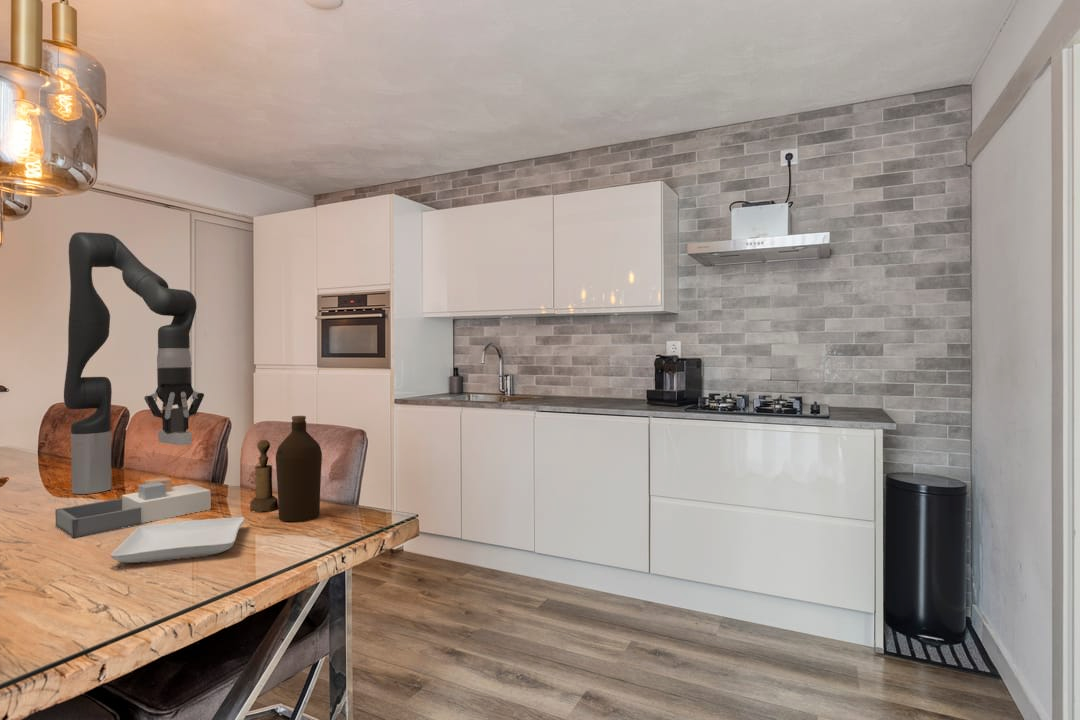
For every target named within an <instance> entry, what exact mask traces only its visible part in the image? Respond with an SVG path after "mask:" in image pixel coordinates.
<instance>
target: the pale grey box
mask: <svg viewBox="0 0 1080 720" xmlns="http://www.w3.org/2000/svg"><path fill="white" fill-rule="evenodd" d="M137 488H138V491H137V493H138V497H139V498H141V499H143V500H150V499H155V498H161V497H166V485H165V484H163V483H160V482H156V483H149V484H145V483H144V484H138V486H137Z"/></svg>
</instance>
